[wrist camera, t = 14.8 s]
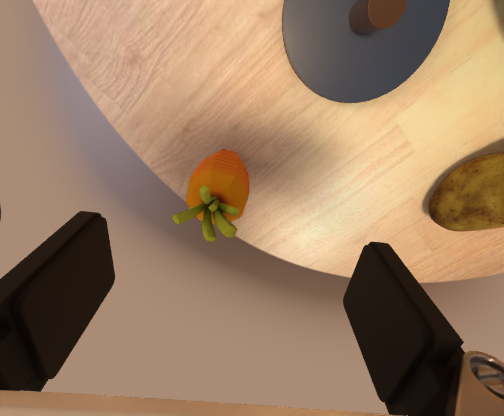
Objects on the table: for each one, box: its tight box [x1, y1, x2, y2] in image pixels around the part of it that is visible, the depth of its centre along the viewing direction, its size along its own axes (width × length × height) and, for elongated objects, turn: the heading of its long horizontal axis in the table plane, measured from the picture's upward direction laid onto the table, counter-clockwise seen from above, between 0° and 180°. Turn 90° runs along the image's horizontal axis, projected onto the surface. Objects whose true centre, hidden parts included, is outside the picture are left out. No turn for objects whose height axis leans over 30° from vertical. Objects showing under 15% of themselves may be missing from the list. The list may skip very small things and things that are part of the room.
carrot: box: [172, 149, 249, 242], centre depth 23 cm, size 5×5×15 cm
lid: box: [282, 0, 450, 103], centre depth 21 cm, size 14×14×6 cm
